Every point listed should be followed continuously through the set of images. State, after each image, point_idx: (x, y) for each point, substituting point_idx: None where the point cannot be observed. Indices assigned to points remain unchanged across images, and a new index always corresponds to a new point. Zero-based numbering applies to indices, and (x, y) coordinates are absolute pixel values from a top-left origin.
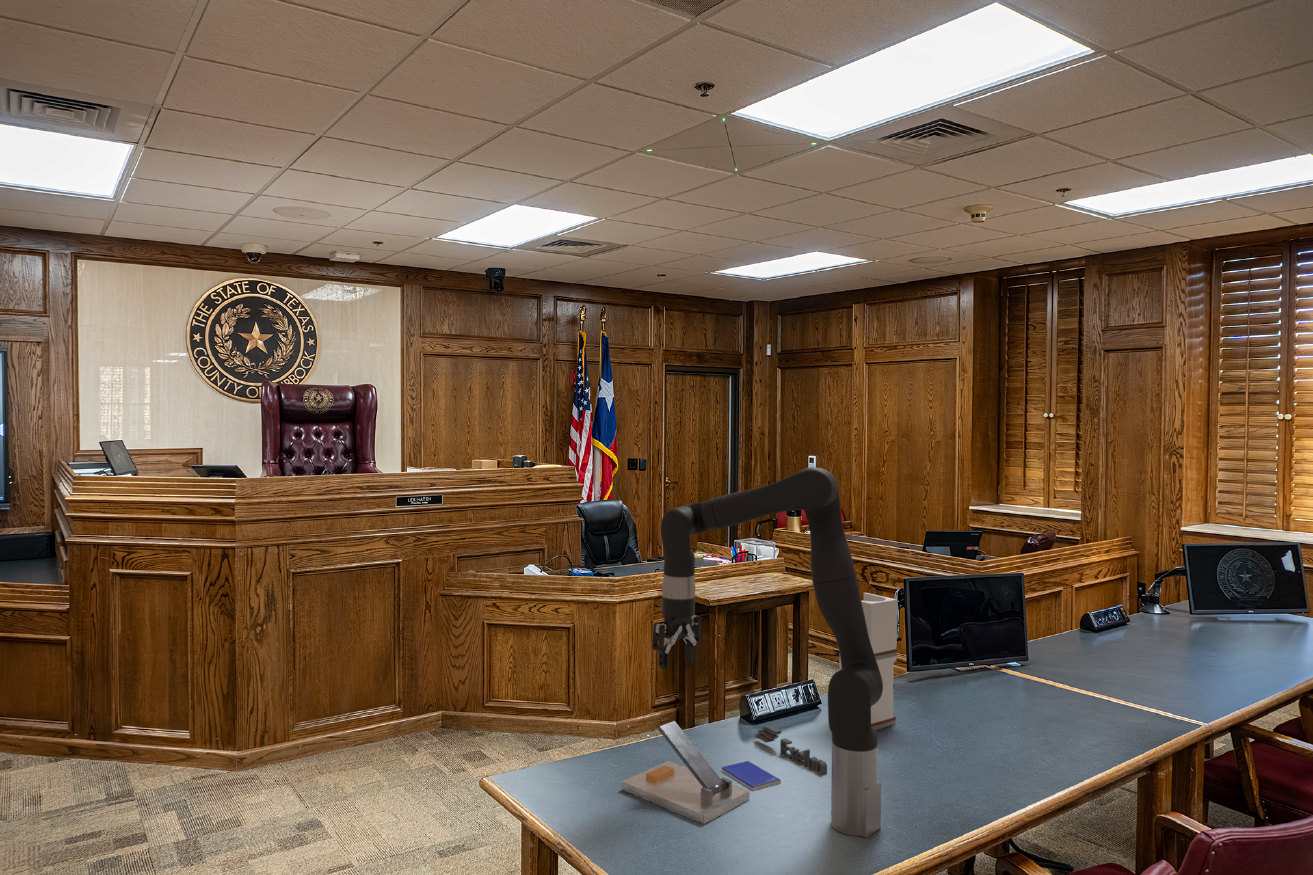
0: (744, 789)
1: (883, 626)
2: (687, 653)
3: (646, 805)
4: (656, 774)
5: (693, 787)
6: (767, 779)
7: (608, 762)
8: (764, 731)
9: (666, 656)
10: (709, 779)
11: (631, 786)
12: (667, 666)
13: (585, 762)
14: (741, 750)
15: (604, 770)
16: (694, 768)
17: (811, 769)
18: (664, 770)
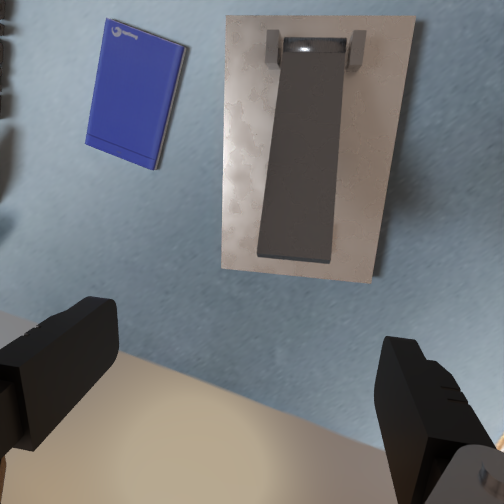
0: (228, 31)
1: None
2: (81, 366)
3: (400, 192)
4: None
5: None
6: (130, 41)
7: (279, 367)
8: None
9: (452, 421)
10: (317, 68)
11: (374, 255)
12: (409, 346)
13: (307, 398)
14: (49, 198)
15: (313, 353)
16: (335, 107)
17: (4, 6)
18: None
